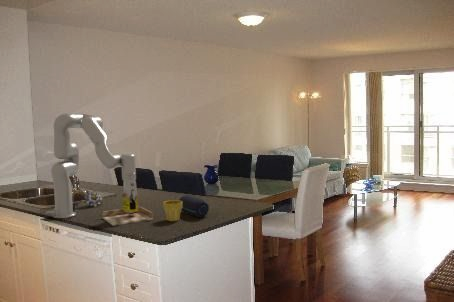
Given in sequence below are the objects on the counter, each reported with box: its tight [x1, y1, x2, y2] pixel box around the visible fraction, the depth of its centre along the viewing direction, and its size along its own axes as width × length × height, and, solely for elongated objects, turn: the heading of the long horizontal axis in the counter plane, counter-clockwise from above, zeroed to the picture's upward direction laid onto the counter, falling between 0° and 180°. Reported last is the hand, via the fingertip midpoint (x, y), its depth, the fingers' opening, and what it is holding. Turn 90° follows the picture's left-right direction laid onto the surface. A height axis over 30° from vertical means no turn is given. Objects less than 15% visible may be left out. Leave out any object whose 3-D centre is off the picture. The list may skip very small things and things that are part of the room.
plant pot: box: [162, 199, 183, 222], centre depth 242 cm, size 10×10×10 cm
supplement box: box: [122, 193, 139, 214], centre depth 248 cm, size 6×6×11 cm
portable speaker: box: [178, 194, 210, 218], centre depth 253 cm, size 25×10×10 cm, turn 30°
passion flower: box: [83, 190, 103, 208], centre depth 286 cm, size 11×11×12 cm
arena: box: [102, 205, 154, 226], centre depth 246 cm, size 22×20×4 cm
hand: (130, 207), depth 248 cm, fingers closed on supplement box, 7 cm apart
